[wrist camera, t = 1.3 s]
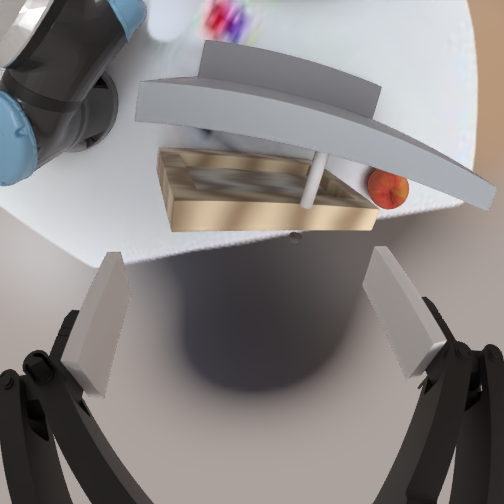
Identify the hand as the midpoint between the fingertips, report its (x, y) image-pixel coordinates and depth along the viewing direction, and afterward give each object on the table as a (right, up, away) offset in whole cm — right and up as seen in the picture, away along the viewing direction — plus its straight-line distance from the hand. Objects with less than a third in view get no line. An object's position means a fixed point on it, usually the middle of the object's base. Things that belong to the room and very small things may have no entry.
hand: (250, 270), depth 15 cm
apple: (+23, +14, +35) cm, 44 cm away
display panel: (+6, +24, +26) cm, 36 cm away
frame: (-1, +13, +26) cm, 29 cm away
